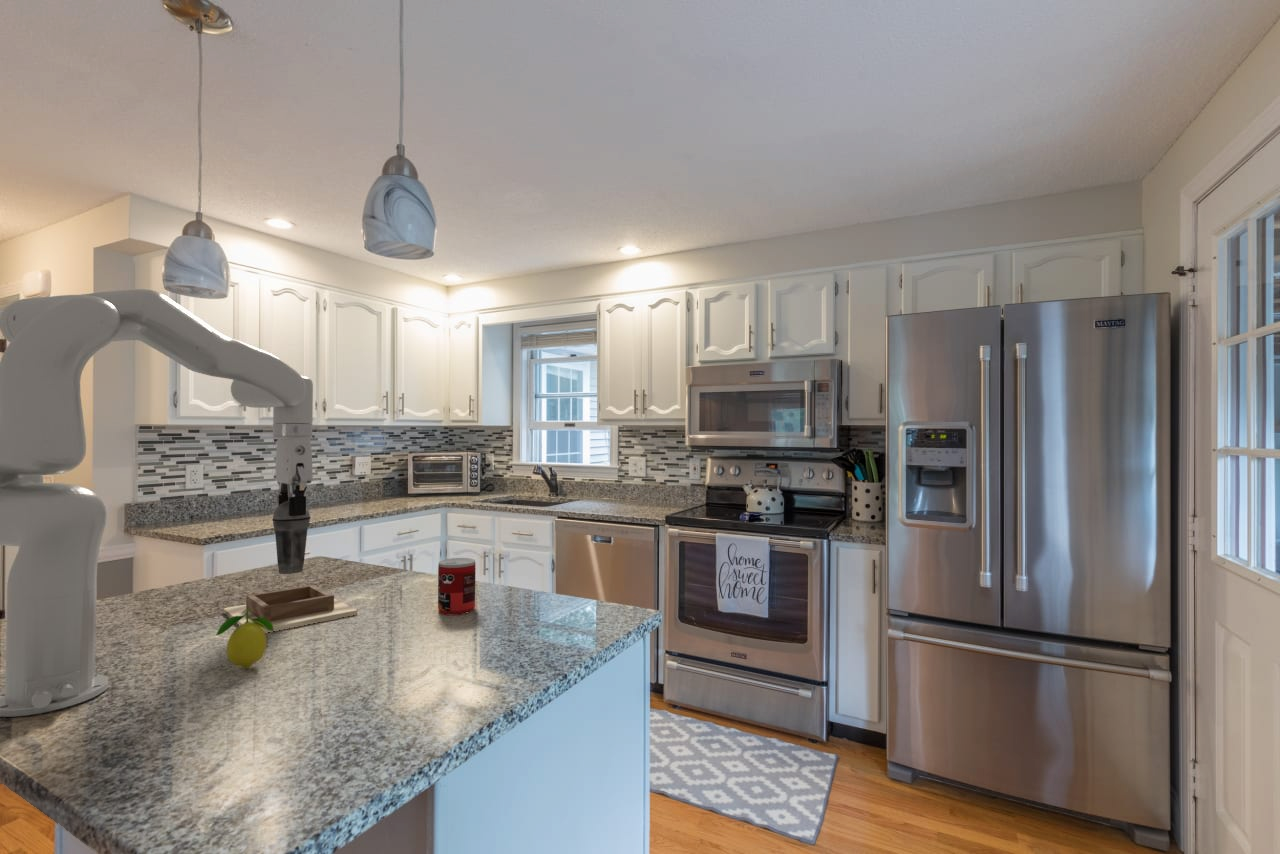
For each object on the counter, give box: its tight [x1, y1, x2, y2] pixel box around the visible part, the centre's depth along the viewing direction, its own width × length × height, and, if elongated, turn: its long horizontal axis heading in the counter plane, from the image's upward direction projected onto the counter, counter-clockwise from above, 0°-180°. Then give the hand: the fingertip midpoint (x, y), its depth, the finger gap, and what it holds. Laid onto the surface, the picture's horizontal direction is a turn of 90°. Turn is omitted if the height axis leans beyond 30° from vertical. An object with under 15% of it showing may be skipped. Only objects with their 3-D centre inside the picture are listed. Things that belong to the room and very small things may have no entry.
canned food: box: [437, 557, 477, 615], centre depth 135 cm, size 8×8×11 cm
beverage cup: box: [272, 484, 311, 575], centre depth 132 cm, size 7×7×20 cm
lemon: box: [215, 608, 274, 670], centre depth 101 cm, size 7×6×10 cm
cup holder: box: [222, 584, 358, 634], centre depth 132 cm, size 22×20×4 cm
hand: (291, 513), depth 132 cm, fingers closed on beverage cup, 6 cm apart
